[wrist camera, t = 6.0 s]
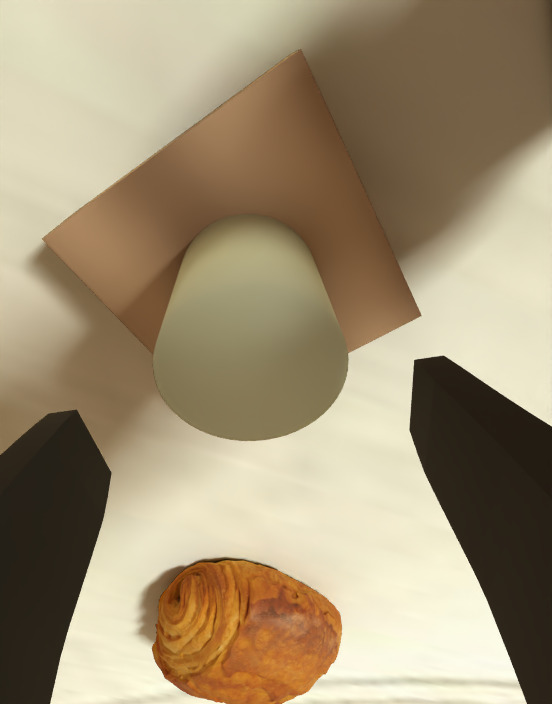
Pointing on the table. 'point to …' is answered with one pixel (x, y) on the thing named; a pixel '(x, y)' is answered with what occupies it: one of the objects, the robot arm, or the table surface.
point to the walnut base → (241, 209)
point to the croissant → (244, 634)
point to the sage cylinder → (249, 334)
